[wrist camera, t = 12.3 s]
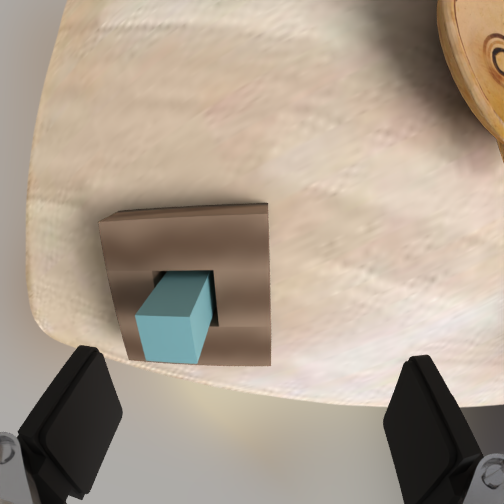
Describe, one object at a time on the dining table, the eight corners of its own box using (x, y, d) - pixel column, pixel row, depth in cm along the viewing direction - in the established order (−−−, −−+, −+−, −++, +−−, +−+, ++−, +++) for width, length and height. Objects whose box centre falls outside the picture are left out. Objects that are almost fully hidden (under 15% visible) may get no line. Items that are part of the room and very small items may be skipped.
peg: (173, 263, 34) (134, 315, 23) (213, 262, 33) (189, 316, 23) (178, 300, 35) (146, 360, 25) (217, 300, 35) (197, 364, 24)
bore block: (119, 210, 33) (98, 222, 28) (267, 203, 32) (267, 214, 27) (142, 336, 38) (128, 359, 34) (271, 339, 37) (270, 366, 33)
